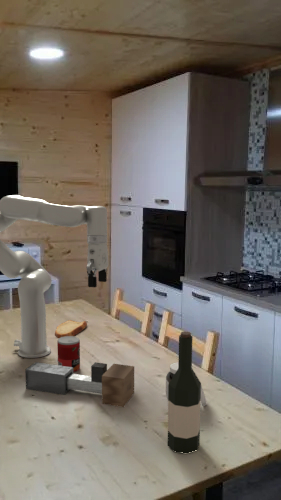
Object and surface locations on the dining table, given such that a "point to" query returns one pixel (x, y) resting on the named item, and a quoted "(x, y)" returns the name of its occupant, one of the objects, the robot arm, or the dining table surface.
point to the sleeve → (47, 377)
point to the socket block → (118, 385)
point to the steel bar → (87, 379)
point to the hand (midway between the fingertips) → (97, 284)
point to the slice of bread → (69, 328)
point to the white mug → (170, 375)
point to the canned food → (69, 352)
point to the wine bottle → (184, 401)
